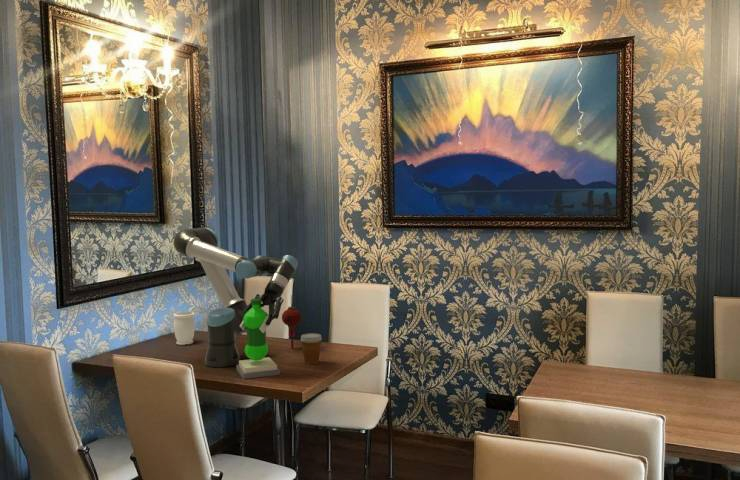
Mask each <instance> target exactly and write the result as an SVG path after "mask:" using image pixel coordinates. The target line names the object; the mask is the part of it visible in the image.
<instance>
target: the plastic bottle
mask: <svg viewBox="0 0 740 480" xmlns="http://www.w3.org/2000/svg"><path fill="white" fill-rule="evenodd" d="M250 303H251V304H252V308H251V309H250V310H249V311H248V312H247V313H246V314H245V315H244V318H243V322H244V325H245V326H246V327H247V332H246V345H245V347H244V353H245V356H246V357H247V358H249V359H251V360H255V361H256V360H262V359H263V358H266V356H267V354H268V352H269V346H268V344H267V329H266V330H265V332H264V333H262V332H261V330H260V327H261V325H262V323H263V322H264V320H265V318H266V316H268V314H269V313H268V312H266V311H265V310H264V309H263V308H262V307H261V308H260V304H261V303H262V301H261V299H254V298H251V299H250ZM268 317H269V316H268Z"/></svg>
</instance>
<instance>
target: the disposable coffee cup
mask: <svg viewBox="0 0 740 480" xmlns="http://www.w3.org/2000/svg"><path fill="white" fill-rule="evenodd" d="M322 339H323V337H322V335H321V334H319V333H304V334H301V336H300V339H299V340H300V341H301V348H302V354H303V360H304V364H306V365H317V364H319V362H320V355H321V354H320V353H321V345H322Z"/></svg>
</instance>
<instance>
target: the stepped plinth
mask: <svg viewBox="0 0 740 480" xmlns="http://www.w3.org/2000/svg"><path fill="white" fill-rule="evenodd" d="M235 369H236V372H237V373H238V374H239V376H240V377H241V378H242V379H243V380H246V379H254V378H255V379H256V378H262V377H273V376H279V375H280V374H281V370H280V369H279V367H278V365H277V363H276V362H275V361H274V360H273V359H272V358H271V357H270V356H269V357H264V358H263V359H262V360H256V361H255V360H251V359H250V358H249V359H243V360H241V359H240V361H239V363H238V364H236V365H235Z"/></svg>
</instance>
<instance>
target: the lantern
mask: <svg viewBox="0 0 740 480" xmlns="http://www.w3.org/2000/svg"><path fill="white" fill-rule="evenodd" d="M292 298H293V297H292V296H290V306H288V307H287V309H286V310H284V311H283V312H282V314H281V320H282V321H281V322H283V324H284V325H286V326H287V327H288V337H290V349H291V350H294V337H295V336H296V326H298V325H299V323H300V322H301V321H302V314H301V312H300V311H299V310H298V309H297V308H296V306H292V301H293V300H292Z"/></svg>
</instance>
